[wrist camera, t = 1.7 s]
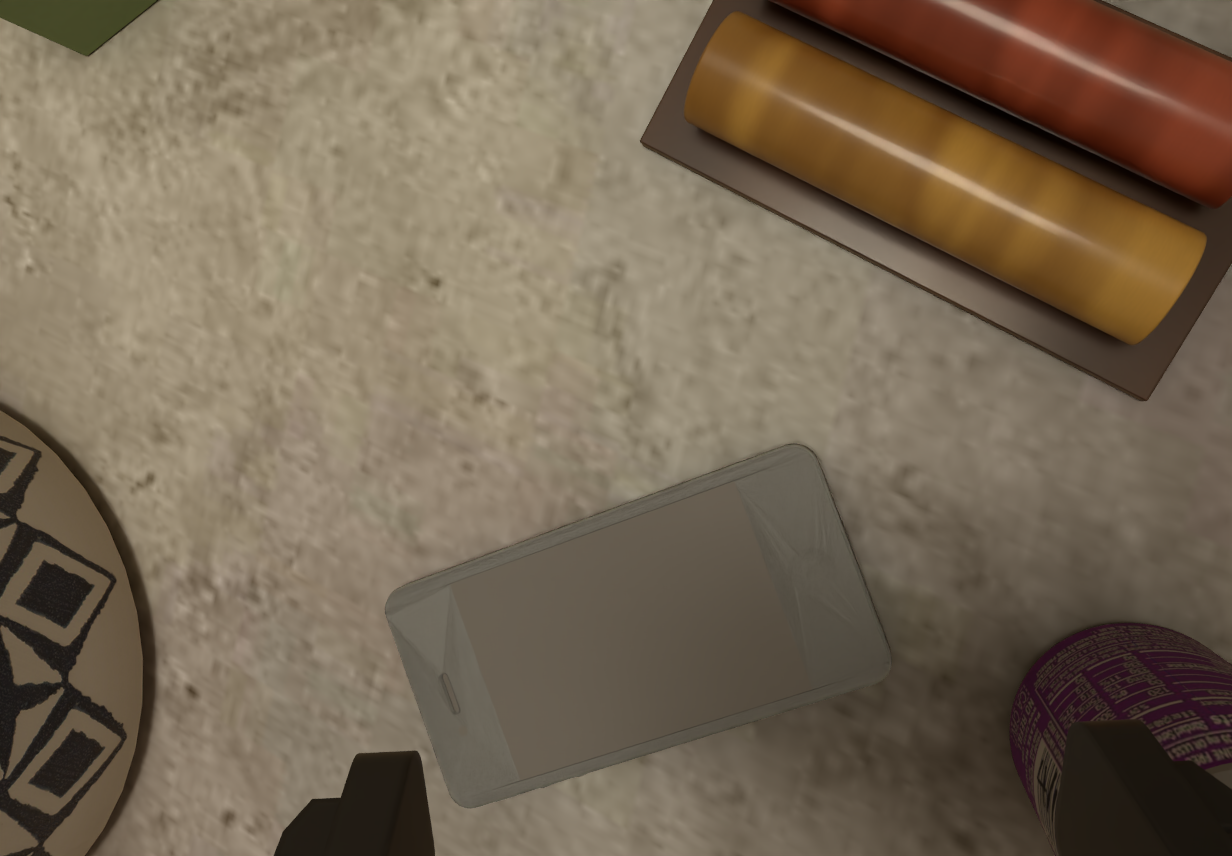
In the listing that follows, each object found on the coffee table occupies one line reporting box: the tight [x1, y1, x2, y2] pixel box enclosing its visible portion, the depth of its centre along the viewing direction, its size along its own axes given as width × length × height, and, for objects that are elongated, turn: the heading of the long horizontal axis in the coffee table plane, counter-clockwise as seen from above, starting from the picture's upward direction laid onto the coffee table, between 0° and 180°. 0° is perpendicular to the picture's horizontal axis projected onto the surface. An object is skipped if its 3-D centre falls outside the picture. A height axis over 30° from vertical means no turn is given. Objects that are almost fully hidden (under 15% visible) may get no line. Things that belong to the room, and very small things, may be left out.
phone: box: [385, 444, 892, 808], centre depth 35 cm, size 8×16×1 cm, turn 111°
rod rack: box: [640, 0, 1232, 401], centre depth 31 cm, size 18×10×4 cm, turn 61°
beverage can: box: [1009, 623, 1232, 856], centre depth 27 cm, size 7×7×12 cm
